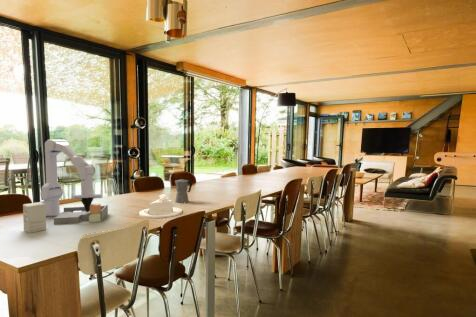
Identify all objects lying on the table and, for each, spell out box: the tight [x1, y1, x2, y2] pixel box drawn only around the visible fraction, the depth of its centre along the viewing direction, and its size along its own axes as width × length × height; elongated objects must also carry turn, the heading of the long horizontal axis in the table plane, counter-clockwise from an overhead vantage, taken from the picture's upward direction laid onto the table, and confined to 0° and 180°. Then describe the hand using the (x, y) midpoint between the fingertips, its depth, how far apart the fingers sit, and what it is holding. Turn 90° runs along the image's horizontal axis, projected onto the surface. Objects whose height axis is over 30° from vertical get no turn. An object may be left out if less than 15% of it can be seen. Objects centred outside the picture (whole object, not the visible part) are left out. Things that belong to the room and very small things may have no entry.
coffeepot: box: [174, 176, 193, 204], centre depth 203 cm, size 15×9×18 cm, turn 62°
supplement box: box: [22, 201, 47, 234], centre depth 137 cm, size 7×7×13 cm
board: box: [53, 204, 109, 225], centre depth 157 cm, size 23×16×6 cm
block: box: [90, 203, 102, 214], centre depth 159 cm, size 4×4×4 cm
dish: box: [138, 193, 183, 219], centre depth 171 cm, size 25×25×11 cm
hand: (87, 211), depth 158 cm, fingers closed
